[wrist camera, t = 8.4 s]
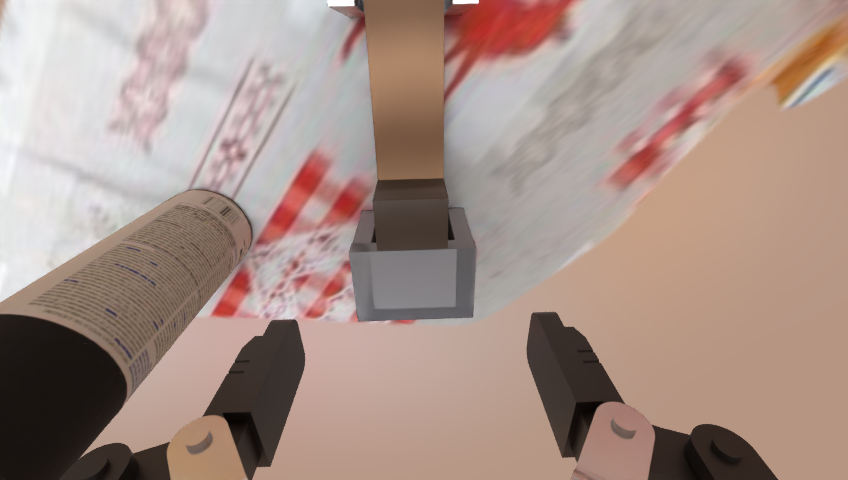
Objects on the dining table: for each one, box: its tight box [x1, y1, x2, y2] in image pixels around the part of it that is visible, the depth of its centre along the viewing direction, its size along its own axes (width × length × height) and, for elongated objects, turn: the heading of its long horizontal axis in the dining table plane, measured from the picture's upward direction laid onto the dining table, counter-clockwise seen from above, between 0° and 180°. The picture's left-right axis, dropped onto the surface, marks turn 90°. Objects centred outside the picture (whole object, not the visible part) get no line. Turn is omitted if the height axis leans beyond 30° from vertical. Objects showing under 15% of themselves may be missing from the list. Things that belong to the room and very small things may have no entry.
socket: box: [349, 208, 477, 321], centre depth 27 cm, size 8×6×7 cm
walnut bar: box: [364, 0, 448, 251], centre depth 21 cm, size 20×4×8 cm, turn 1°
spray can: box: [0, 190, 252, 480], centre depth 20 cm, size 7×7×20 cm
